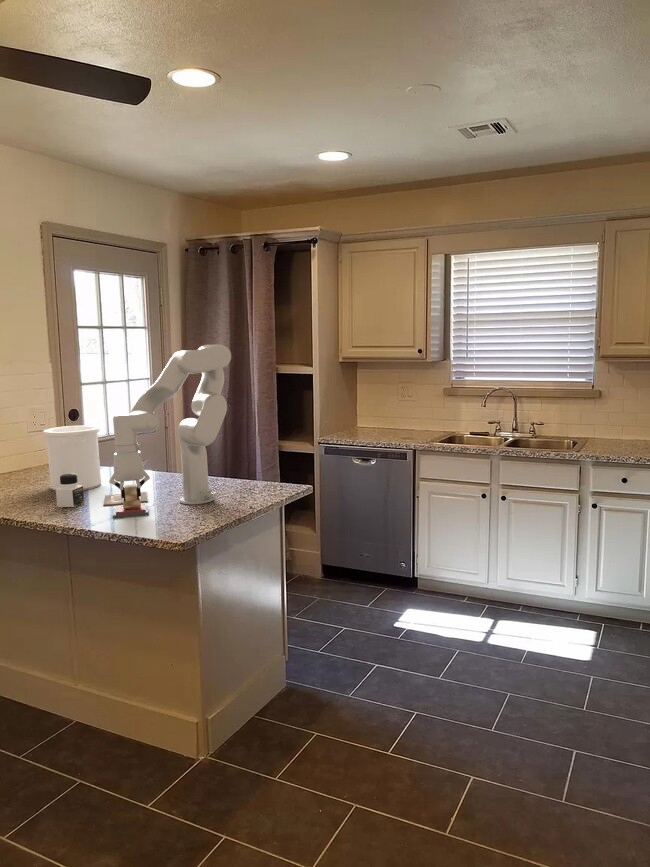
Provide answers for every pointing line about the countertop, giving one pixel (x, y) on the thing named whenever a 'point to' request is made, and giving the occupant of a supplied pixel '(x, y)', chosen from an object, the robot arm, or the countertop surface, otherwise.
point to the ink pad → (130, 512)
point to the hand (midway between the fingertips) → (131, 498)
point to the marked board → (121, 499)
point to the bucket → (74, 455)
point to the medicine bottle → (69, 491)
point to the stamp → (131, 497)
